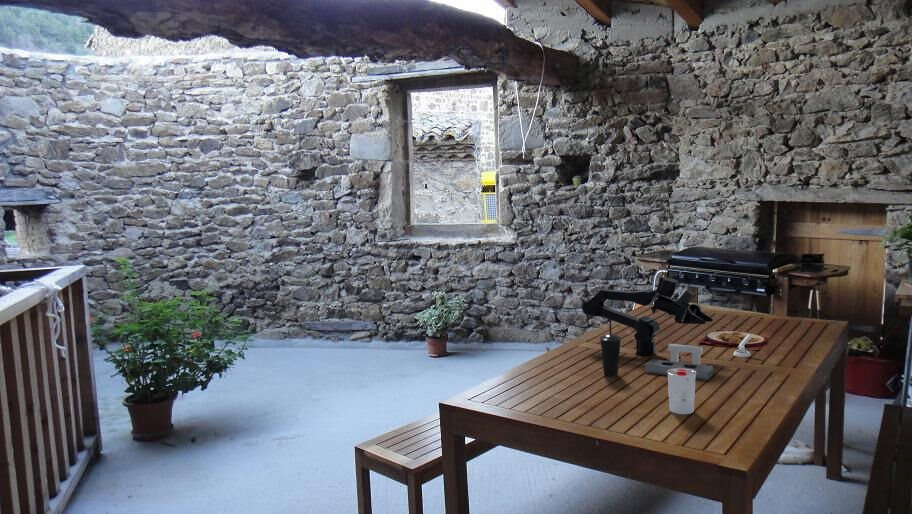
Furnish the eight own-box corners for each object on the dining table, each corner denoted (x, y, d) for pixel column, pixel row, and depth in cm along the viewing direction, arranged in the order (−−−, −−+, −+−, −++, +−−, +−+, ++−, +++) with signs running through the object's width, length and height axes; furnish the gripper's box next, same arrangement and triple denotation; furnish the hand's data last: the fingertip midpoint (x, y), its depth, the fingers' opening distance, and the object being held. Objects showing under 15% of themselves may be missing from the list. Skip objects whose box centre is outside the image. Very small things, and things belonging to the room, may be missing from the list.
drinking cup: (622, 372, 244) (622, 318, 242) (620, 378, 237) (620, 322, 235) (601, 371, 247) (600, 317, 244) (598, 376, 239) (598, 322, 237)
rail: (645, 372, 243) (645, 364, 243) (651, 366, 250) (651, 359, 249) (708, 380, 231) (708, 371, 231) (713, 374, 238) (713, 366, 237)
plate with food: (697, 345, 282) (697, 337, 281) (717, 332, 302) (717, 324, 302) (759, 354, 267) (759, 345, 266) (775, 339, 287) (775, 331, 287)
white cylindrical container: (661, 406, 207) (661, 368, 205) (687, 404, 207) (688, 366, 206) (674, 417, 197) (674, 377, 195) (702, 415, 197) (702, 375, 196)
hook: (764, 345, 258) (753, 338, 257) (747, 365, 260) (737, 358, 259) (755, 338, 264) (745, 331, 263) (739, 358, 266) (729, 351, 265)
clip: (668, 363, 254) (668, 345, 253) (670, 361, 256) (670, 343, 255) (700, 367, 247) (700, 348, 246) (702, 365, 250) (702, 346, 249)
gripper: (668, 288, 251) (708, 303, 243) (684, 285, 266) (722, 300, 258) (659, 315, 254) (698, 331, 245) (675, 311, 269) (713, 326, 260)
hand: (708, 321), depth 252 cm, fingers open, 9 cm apart
